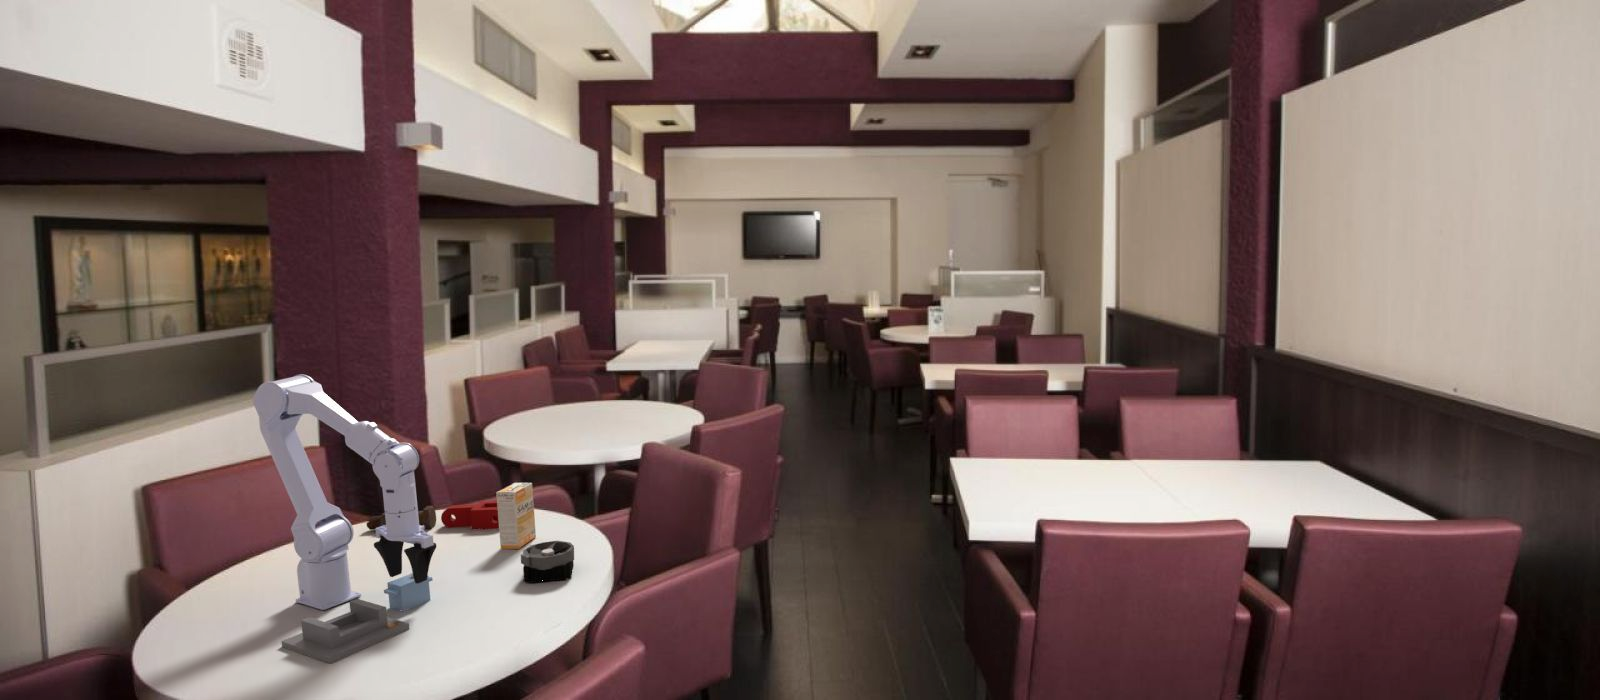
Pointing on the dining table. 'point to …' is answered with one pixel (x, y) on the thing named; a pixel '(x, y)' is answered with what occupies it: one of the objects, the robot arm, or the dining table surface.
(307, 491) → the robot arm
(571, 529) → the dining table surface
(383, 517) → the bolt
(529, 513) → the supplement box
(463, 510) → the mechanical linkage
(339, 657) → the board
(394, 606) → the block
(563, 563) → the cpu cooler
